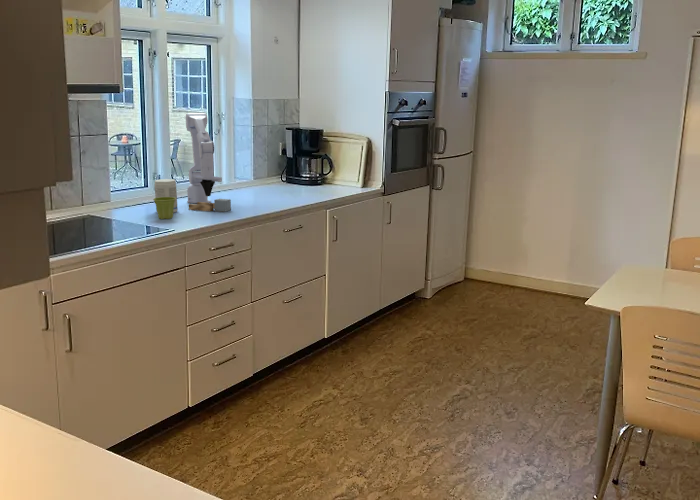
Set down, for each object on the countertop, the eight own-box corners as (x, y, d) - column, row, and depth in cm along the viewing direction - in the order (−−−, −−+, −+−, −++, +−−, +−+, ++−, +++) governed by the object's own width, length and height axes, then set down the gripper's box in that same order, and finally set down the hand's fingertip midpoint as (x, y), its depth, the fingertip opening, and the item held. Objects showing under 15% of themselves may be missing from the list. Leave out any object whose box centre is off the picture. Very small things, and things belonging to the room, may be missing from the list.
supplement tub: (175, 209, 324) (173, 178, 321) (179, 212, 316) (178, 180, 312) (154, 211, 320) (152, 179, 316) (158, 214, 311) (156, 181, 308)
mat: (212, 211, 321) (212, 210, 321) (219, 209, 327) (219, 208, 327) (223, 212, 319) (223, 211, 319) (230, 210, 325) (230, 209, 325)
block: (214, 210, 322) (214, 199, 321) (219, 209, 326) (219, 198, 325) (225, 211, 319) (225, 200, 318) (230, 210, 324) (230, 199, 322)
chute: (188, 209, 325) (188, 202, 324) (198, 206, 332) (198, 199, 331) (212, 211, 320) (212, 204, 319) (221, 208, 327) (221, 201, 327)
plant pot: (165, 220, 296) (164, 200, 294) (149, 218, 301) (148, 198, 299) (181, 217, 304) (180, 198, 302) (165, 215, 309) (165, 196, 307)
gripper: (189, 167, 323) (190, 196, 326) (215, 169, 317) (216, 198, 320) (197, 165, 329) (198, 193, 332) (224, 167, 324) (224, 196, 327)
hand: (208, 196), depth 327 cm, fingers closed
